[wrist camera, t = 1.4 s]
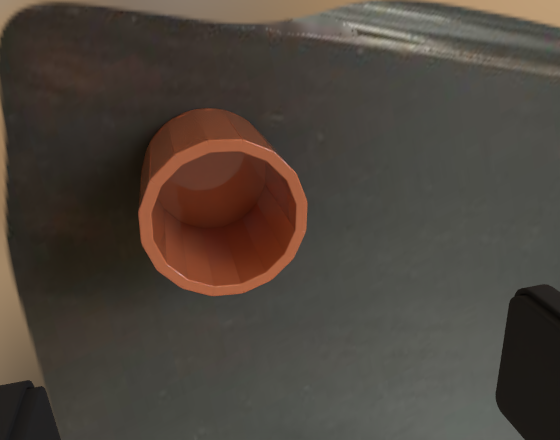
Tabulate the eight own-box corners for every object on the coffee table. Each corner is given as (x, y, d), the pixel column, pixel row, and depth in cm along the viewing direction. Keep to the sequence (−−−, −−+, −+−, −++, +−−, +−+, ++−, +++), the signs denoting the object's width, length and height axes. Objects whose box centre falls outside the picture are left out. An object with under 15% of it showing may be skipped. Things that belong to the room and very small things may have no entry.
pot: (148, 235, 27) (146, 303, 21) (137, 109, 24) (131, 142, 18) (270, 226, 29) (304, 287, 22) (272, 106, 26) (310, 136, 20)
